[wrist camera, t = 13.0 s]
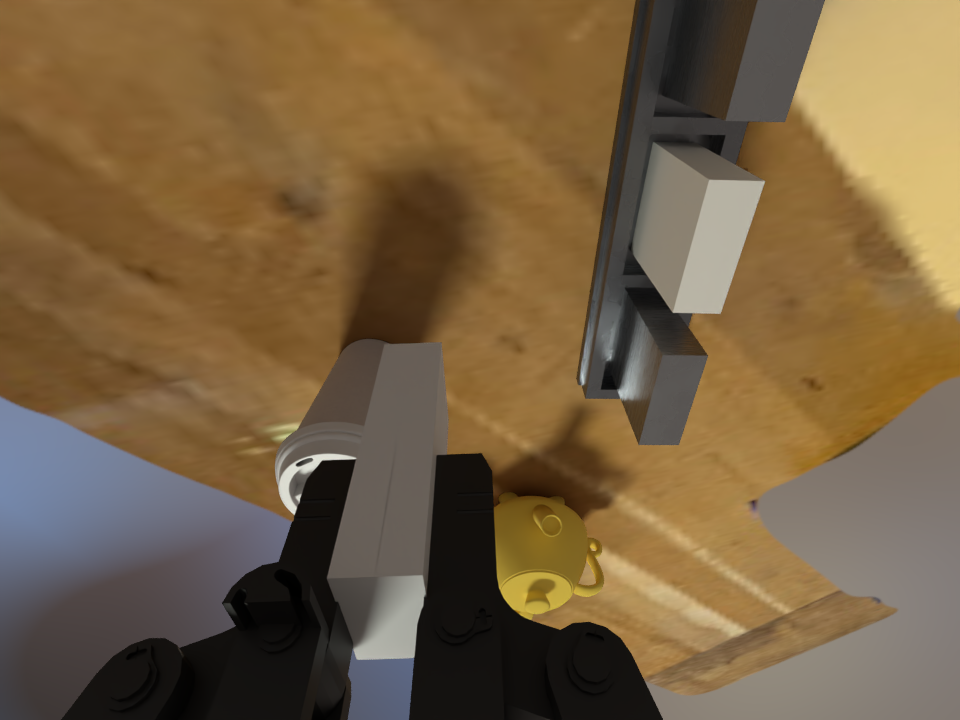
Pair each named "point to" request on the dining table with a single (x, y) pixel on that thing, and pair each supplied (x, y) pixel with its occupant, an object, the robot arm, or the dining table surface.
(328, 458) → the coffee cup
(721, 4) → the rack
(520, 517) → the teapot
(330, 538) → the robot arm
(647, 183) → the panel
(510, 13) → the dining table surface
